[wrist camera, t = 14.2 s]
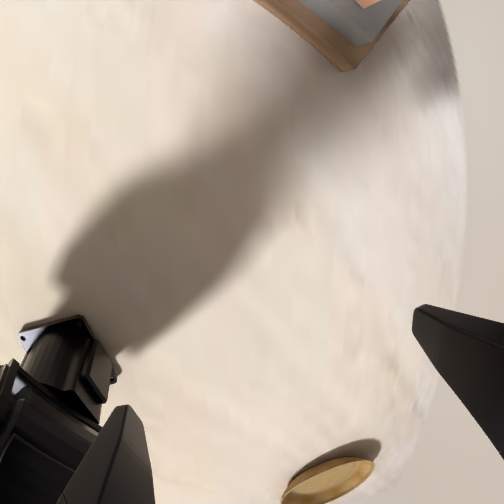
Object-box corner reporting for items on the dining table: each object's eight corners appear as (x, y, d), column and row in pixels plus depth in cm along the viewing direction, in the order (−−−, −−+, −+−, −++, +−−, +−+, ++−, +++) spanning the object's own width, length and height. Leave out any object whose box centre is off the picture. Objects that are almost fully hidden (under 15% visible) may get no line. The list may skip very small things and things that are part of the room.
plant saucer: (383, 451, 39) (390, 462, 37) (317, 498, 41) (322, 509, 39) (329, 441, 33) (337, 456, 31) (254, 494, 35) (259, 509, 33)
